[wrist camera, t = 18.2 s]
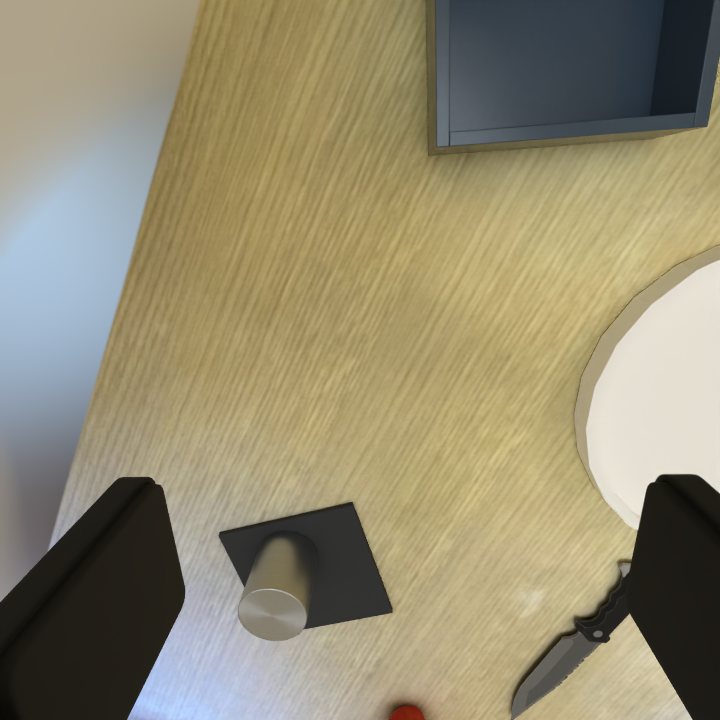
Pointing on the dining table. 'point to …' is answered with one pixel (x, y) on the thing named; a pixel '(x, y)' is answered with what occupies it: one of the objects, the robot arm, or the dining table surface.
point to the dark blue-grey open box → (567, 71)
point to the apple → (407, 714)
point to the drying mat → (322, 563)
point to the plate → (655, 389)
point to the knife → (573, 648)
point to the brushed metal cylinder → (279, 587)
